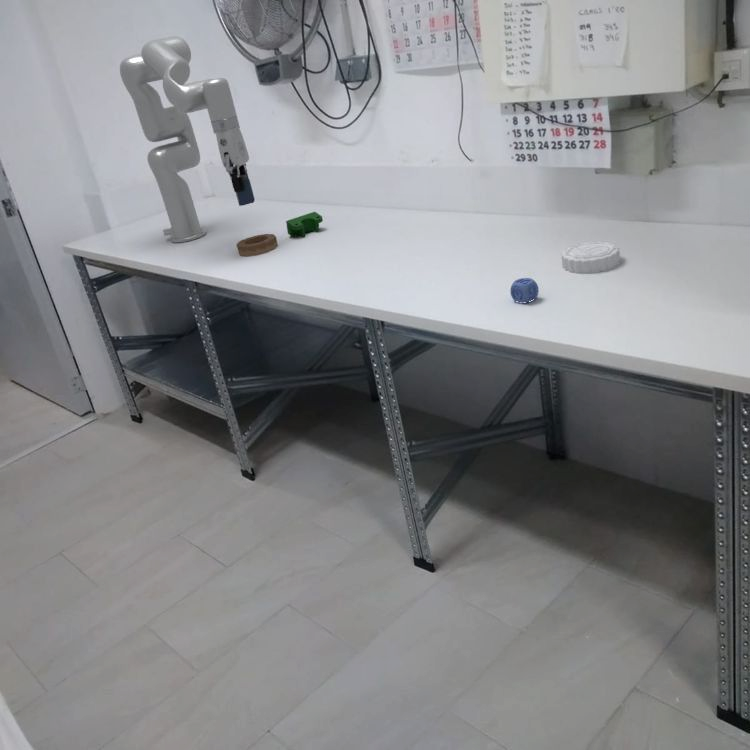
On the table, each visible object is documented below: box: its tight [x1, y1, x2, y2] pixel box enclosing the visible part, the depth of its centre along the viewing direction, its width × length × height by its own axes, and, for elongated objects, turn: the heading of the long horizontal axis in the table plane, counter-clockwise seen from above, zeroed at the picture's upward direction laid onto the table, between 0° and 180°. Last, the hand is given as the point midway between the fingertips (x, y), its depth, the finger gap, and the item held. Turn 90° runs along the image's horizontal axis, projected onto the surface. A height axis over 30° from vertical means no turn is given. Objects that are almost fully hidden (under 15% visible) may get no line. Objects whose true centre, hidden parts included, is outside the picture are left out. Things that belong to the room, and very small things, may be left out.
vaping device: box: [231, 165, 255, 207], centre depth 216 cm, size 3×5×12 cm, turn 111°
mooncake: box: [561, 241, 621, 274], centre depth 158 cm, size 12×12×4 cm
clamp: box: [285, 211, 323, 238], centre depth 230 cm, size 11×6×8 cm, turn 117°
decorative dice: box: [510, 277, 540, 302], centre depth 147 cm, size 4×4×4 cm
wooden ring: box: [236, 233, 279, 257], centre depth 224 cm, size 12×12×3 cm
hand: (242, 188), depth 216 cm, fingers closed on vaping device, 4 cm apart
